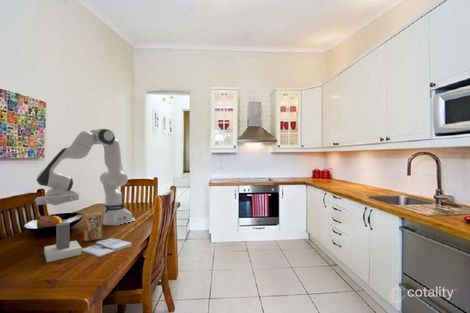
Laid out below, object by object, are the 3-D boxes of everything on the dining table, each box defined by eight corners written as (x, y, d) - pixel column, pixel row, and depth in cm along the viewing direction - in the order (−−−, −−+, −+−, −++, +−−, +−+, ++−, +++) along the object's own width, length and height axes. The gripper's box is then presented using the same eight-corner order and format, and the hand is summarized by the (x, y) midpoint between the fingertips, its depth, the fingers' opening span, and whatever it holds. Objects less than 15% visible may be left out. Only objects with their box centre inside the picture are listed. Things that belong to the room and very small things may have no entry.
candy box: (101, 236, 151) (101, 212, 151) (101, 238, 147) (101, 213, 147) (84, 239, 147) (84, 214, 147) (84, 241, 143) (84, 215, 143)
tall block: (67, 244, 128) (68, 222, 128) (69, 247, 124) (69, 224, 124) (56, 246, 125) (56, 223, 125) (57, 249, 121) (57, 225, 121)
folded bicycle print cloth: (132, 246, 138) (132, 242, 138) (97, 259, 120) (97, 254, 120) (112, 240, 147) (112, 236, 147) (77, 251, 130) (77, 247, 130)
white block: (76, 246, 134) (76, 240, 134) (81, 254, 124) (81, 247, 124) (44, 253, 125) (44, 246, 125) (47, 262, 115) (47, 255, 115)
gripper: (33, 194, 138) (35, 197, 128) (76, 190, 152) (80, 192, 142) (34, 205, 138) (35, 209, 128) (76, 200, 152) (80, 203, 142)
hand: (59, 200), depth 135 cm, fingers open, 8 cm apart
